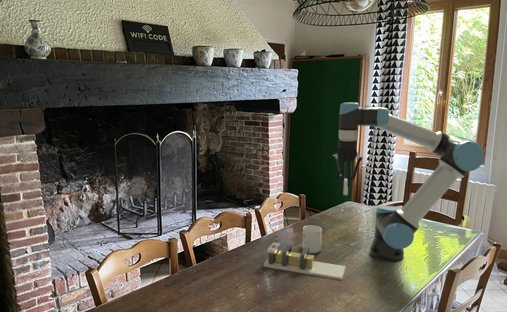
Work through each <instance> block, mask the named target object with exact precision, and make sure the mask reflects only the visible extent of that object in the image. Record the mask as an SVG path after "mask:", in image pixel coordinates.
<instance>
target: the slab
mask: <svg viewBox="0 0 507 312" xmlns="http://www.w3.org/2000/svg"><path fill="white" fill-rule="evenodd" d="M263 267H264V268H271V269H276V270H281V271H289V272H293V273H300V274H305V275H311V276H315V277H316V276H317V277H323V278H328V279H334V280H339V281H342V280H343V278H344V274H345V272H346V268H347V267H346V266H345V265H340V264H333V263H328V262H327V263H326V262H321V261H315V260H314V266H313V268H306V267H305V270H302V269H300V266H294V265H288V264H287V266H286V267H285V266H282V263H276V262H274V264H269V261H268V258H267V259H266V261H265V262H264V263H263Z"/></svg>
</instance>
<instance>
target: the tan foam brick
mask: <svg viewBox="0 0 507 312" xmlns="http://www.w3.org/2000/svg"><path fill="white" fill-rule="evenodd" d="M283 250H284V249H283ZM283 250H281V249H279V250H277V251H276V252H275V253H274V262H276V263H282V251H283ZM301 253H302V252H295V251H292V252H288V254H287V264H288V265H294V266H300V254H301ZM267 259H268V261H269V252H267ZM314 261H315V255H313V254H309V255H308V254H307V255H306V257H305V267H306V268H313V266H314Z"/></svg>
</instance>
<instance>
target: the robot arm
mask: <svg viewBox="0 0 507 312" xmlns="http://www.w3.org/2000/svg"><path fill="white" fill-rule="evenodd" d="M338 119H339V121H338V123H339V124H338V139H339V140H338V142H337V143H338V148H337V151H336V153H335V154H333V155H332V156H331V159H332V161H333V164H334V168H335V172H336V177H337V178H338V179H340V181H341V184H340V186H341V188H343V191H342V193H343V196H348V193H349V188H350V187H351V184H352V183H351V182H352V180H355V179H356V176H357V174H358V170H359V167H360V164H361V162H362V160H363V156H361V155H359V154H358V153H359V152H358V151H357V149H358V141H357V139H358V128H359V127H362V126H363V127H364V126H365V127H366V126H367V127H375V128H378V129H380V130H382V131H385V132H388V133H389V134H392V135H395V136H397V137H400V138H402V139H405V140H407V141H410V142H411V143H414V144H417V145H419V146H422V147H423V148H426V149H428V152H430V153H432V154H435V155H437V156H439V157H440V158H439V159H438V166H437V167H436V168H435V170H434V171H433V172H432V173H431V174H430V175H429V177H428V178H427V179H426V180H425V181H424V182H423V183H422V185H421V186H420V187H419V188H418V189H417V190H416V191H415V193H414V194H413V195H412V196H411V197H410V198H409V200H407V202H406V203H405V204H404V206H403V207H398V206H390V205H389V206H388V205H381V206H380V205H379V206H378V207H377V208H376V211H375V221H374V222H375V224H374V226H375V227H374V237H373V240H372V242H371V245H370V248H369V253H370V255H371V256H372V257H374V258H375V259H378V260H381V261H386V262H397V261H401V260H403V259H404V258H405V257H404V256H405V252H404V249H406V248H408V247H410V246H411V245H412V243H413V241H414V237H415V235H414V234H415V233H416V232H417V231H418V230H419V229H420V224H419V223H420V222H421V221H422V219H423V218H424V217H425V215H427V213H429V211H430V210H431V209H432V208H433V207H434V206H435V205H436V204H437V202H438V201H439V200H440V198H441V199H442V197H443V195H444V194H445V193H446V192H447V191H448V190H449V189H450V188H451V186H452V185H454V183H455V182H456V181H457V179H463V178H465V177H466V176H467V175H468V174H469V172H472V171H473V172H474V171H476V170H477V169H479V168H480V167H481V166H482V165H483V163H484V161H485V151H484V149H483V147H482V146H481V145H480V144H479V143H478V142H475V141H473V140H472V139H467V138H463V137H462V136H461V137H460V136H457V135H451V134H447V133H444V132H442V131H437V132H436V131H433V130H431V129H428V128H426V127H423V126H421V125H418V124H415V123H413V122H411V121H409V120H405V119H404V118H401V117H398V116H396V115H393V114H391V113H389V108H387V107H381V106H380V107H375V106H371V105H365V106H362V107H361V106H360V105H359V103H358V102H343V103H340V105H339V118H338ZM358 126H359V127H358ZM338 158H339V159H340V161H341V171H340V165H339V160H338ZM355 159H356V163H355V167H354V169H353V168H352V167H353V166H352V163H353V161H354V160H355ZM346 164H347V178H346ZM352 169H353V172H352ZM352 173H353V174H352Z"/></svg>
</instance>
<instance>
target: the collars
mask: <svg viewBox="0 0 507 312" xmlns="http://www.w3.org/2000/svg"><path fill="white" fill-rule="evenodd" d="M280 247H281V243H279V242H272V243H271V244H270V246H269V247H268V248H267V252H266V253H268V252H269V264H274V253H275V252H276V251H277V250H280ZM292 247H293V245H291V244H287V245H286V246H285V247H284V249H283V251H282V266H285V267H286V266H287V254H288V252H293V251H292V250H293V249H292ZM300 253H301V254H300V269H302V270H305V257H306V255H307V254H308V255H310V253H309V248H307V247H305V248H304V249H303V248H302V251H301V252H300Z"/></svg>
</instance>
